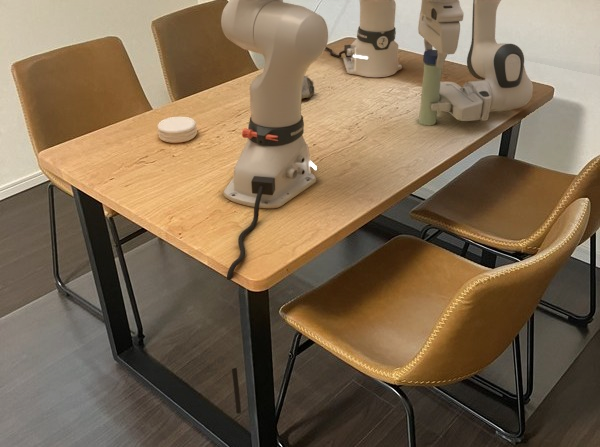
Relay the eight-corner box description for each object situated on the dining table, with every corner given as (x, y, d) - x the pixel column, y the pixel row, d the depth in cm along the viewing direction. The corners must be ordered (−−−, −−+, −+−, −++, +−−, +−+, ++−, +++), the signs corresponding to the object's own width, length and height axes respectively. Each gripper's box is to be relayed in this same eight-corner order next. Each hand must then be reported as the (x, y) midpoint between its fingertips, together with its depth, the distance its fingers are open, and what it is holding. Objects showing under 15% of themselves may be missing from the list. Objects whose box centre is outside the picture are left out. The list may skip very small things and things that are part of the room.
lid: (436, 66, 157) (436, 57, 155) (418, 61, 160) (419, 52, 159) (448, 61, 160) (449, 52, 158) (431, 57, 163) (432, 48, 162)
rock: (319, 95, 186) (318, 72, 182) (294, 104, 180) (293, 80, 176) (285, 84, 195) (284, 62, 192) (261, 93, 189) (259, 70, 186)
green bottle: (426, 117, 172) (433, 51, 162) (439, 122, 168) (447, 55, 159) (415, 121, 169) (421, 55, 159) (428, 126, 166) (435, 59, 156)
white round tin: (160, 128, 167) (158, 116, 165) (197, 126, 168) (196, 114, 166) (157, 144, 158) (155, 132, 157) (196, 142, 159) (195, 129, 157)
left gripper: (414, -3, 161) (410, 50, 168) (440, 17, 144) (434, 75, 151) (438, -4, 161) (432, 49, 169) (466, 15, 144) (459, 73, 152)
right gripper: (458, 74, 175) (412, 78, 172) (493, 99, 158) (443, 105, 156) (455, 95, 178) (410, 100, 176) (490, 122, 162) (440, 128, 159)
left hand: (433, 61), depth 160 cm, fingers open, 7 cm apart
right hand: (426, 102), depth 166 cm, fingers closed on green bottle, 4 cm apart
